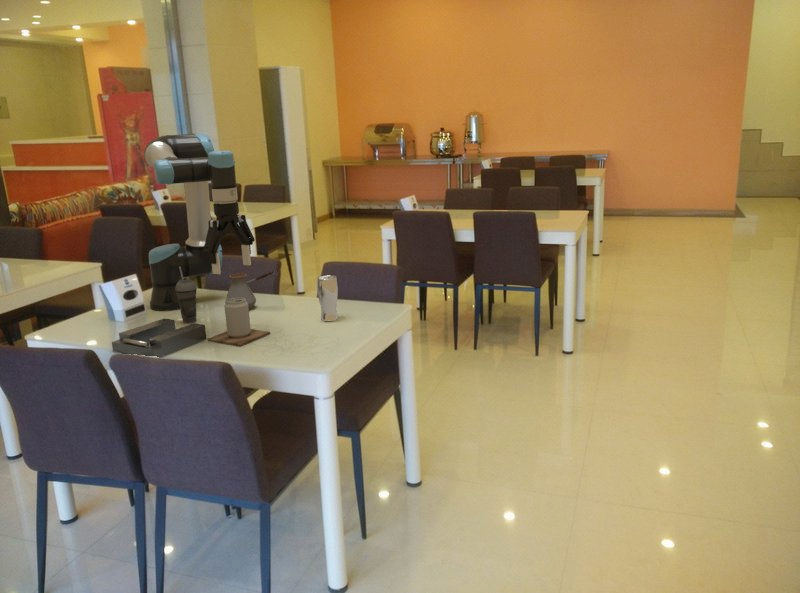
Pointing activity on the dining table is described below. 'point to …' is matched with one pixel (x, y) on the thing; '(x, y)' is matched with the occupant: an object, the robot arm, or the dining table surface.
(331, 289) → the beer glass
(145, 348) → the grey stepped tray
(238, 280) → the coffee pot
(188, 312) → the beverage cup
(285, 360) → the dining table surface
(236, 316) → the can
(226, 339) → the walnut board
